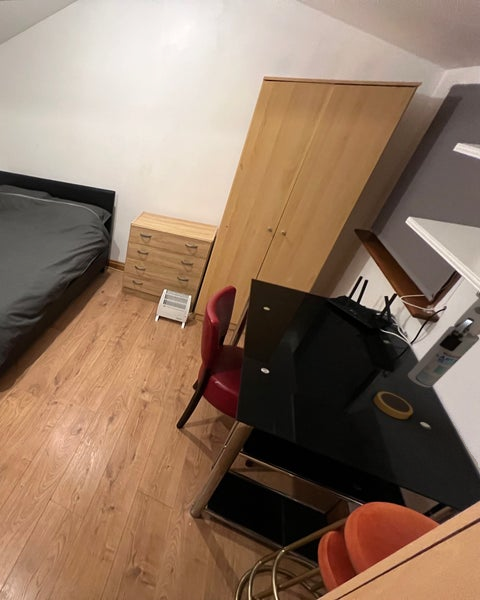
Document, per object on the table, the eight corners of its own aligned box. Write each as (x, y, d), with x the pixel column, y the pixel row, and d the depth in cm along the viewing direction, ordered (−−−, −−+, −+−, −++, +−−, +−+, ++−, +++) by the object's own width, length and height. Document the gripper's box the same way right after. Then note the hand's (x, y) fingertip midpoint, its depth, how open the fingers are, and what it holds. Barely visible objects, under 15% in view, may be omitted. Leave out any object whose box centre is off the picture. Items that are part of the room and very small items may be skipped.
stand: (414, 414, 112) (419, 409, 111) (398, 422, 109) (403, 417, 107) (383, 393, 120) (388, 388, 119) (367, 400, 117) (371, 395, 115)
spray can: (426, 376, 107) (470, 329, 96) (437, 390, 102) (485, 342, 91) (403, 370, 108) (444, 323, 97) (412, 384, 103) (457, 336, 92)
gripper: (503, 308, 81) (452, 360, 91) (532, 298, 87) (482, 348, 97) (465, 293, 87) (421, 343, 97) (495, 285, 93) (451, 333, 103)
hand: (452, 345), depth 97 cm, fingers closed on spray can, 6 cm apart
